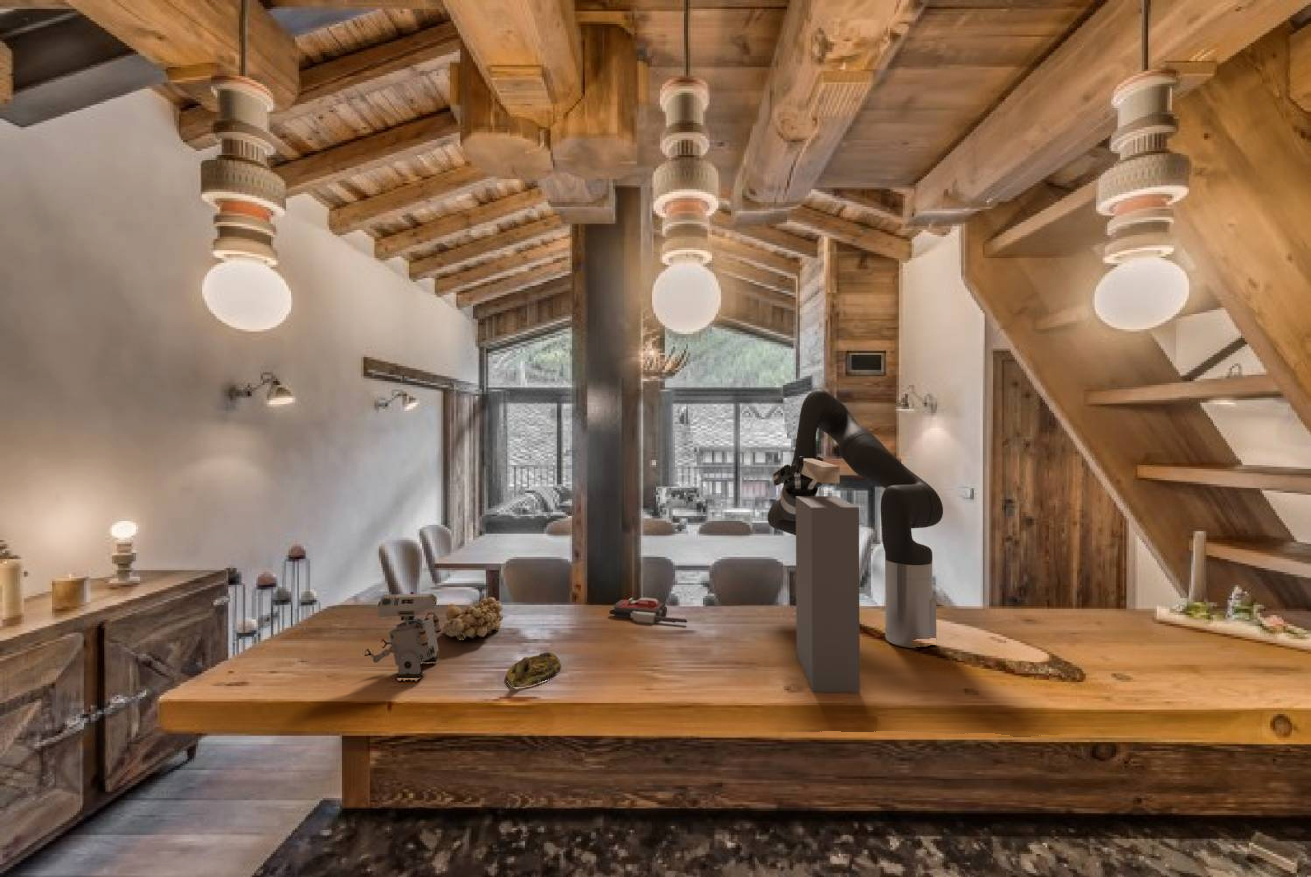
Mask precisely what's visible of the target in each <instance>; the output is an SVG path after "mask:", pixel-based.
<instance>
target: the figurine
mask: <svg viewBox="0 0 1311 877" xmlns="http://www.w3.org/2000/svg"><path fill="white" fill-rule="evenodd" d="M437 600H438V597H437V596H436V595H434V594H433V593H415V592H414V591H410V593H405V594H404V593H403V594H402V593H401V594H400V593H399V594H392V593H391V594H382V596H381V597H380V600H379V601H378V618H384V617H400V621H401V622H399V623H398V624H396V627H394V628H392V630H391V631H389V633H388V634H389V638H390V641H385V639H384V638H382V639H381V641H380V643H382V642H383V643H384V645H383V646H380V647H381V648H382V649H384V650H383V651H382V652H380V653H378V654H374V653H373V652H371V651H370V650H369V648H367V649H366V650H365V651H364V657H369V656H370V657H371V658H372V661H373V663H375V664H376V663H379V662H380V661H381V660H382V659H383V658H385V657H388V656H390V654H391V653H392V654H393V657H394V662H395V665H396V666H398V668H397V674H396V679H397V678H420V677H421V676H422V677H423V673H422V671H421V669H422V668H421V664H420V663H421V662H436V661H437V659H438V660H439V658H438V655H437V653H438V652H439V651H440V650H439V644H438V641H437V640H438V639H437V635H436V634H439V633H441V632H442V629H441V627H440V618H439V616H438V615H437V614H435V613H434V612H429V613H427V615H426V617H424V618H423V617H416V616H418V615H420V614H421V613H423V612H425V611H426V610H434V609H436V606H437ZM431 614H433V616H432V618H431V617H428V616H429V615H431ZM387 645H390V646H389V647H388V649H387V648H386V646H387ZM385 648H386V649H385ZM366 652H368V653H367V654H366ZM437 662H438V661H437ZM437 662H436V663H437Z"/></svg>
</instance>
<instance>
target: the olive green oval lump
mask: <svg viewBox="0 0 1311 877" xmlns="http://www.w3.org/2000/svg"><path fill="white" fill-rule="evenodd" d="M561 669H562V663H561V660H560V659H559V658H558V656H557V655H556V654H554V653H553V652H550V651H545V652H543V653H540V654H539V655H538V654H537V655H533V656H527V657H524V656H523V658H522V659H521V660H518V661H517V662H515V663H514V664H513V665H512V666H511V667H510V668H508V670H507V672H506V675H505V681H506V680H507V681H508V683H509V684H510V685H511V686H512V687H526V686H531V685H534V684H538V683H540V682H542V681H545V680H548V679H550V678H551V677H552V676H554V675H555V674H556V673H558V672H560V671H561ZM559 670H560V671H559ZM558 674H559V673H558ZM555 676H556V675H555ZM555 676H554V677H555Z"/></svg>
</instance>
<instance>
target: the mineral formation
mask: <svg viewBox="0 0 1311 877" xmlns="http://www.w3.org/2000/svg"><path fill="white" fill-rule="evenodd" d="M503 609H504V608H503V605H502V603H501V602H500V600H496V598H495V597H491V596H489V597H488V598H486V597H484V598H481V599H480V601H479V603H478V604H476V603H475V604H473V605H471V604H470V605H468V606H467V607H466V608H464V609H461V608H460V607H459V606H458V605H455V604H454V603H451V604H449V605H448V606H447V609H446V612H445V618H446V620H447V621H445V622H444V626H443V627H442V629H441V632H442V633H445V635H447V636H448V637H451V638H453V637H456V640H457V639H461V640H462V639H465V640H466V639H467V635H468V638H470V639H474V638H475V637H476V636H478V637H481V638H484V637H485V636H486V635H488V634H491V633H492V631H493V630H496V631H495V632H497V630H498V631H499V630H500V629H501V621H503V619H504V614H503V613H500V612H501V611H503ZM487 633H488V634H487Z"/></svg>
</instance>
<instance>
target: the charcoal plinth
mask: <svg viewBox="0 0 1311 877" xmlns="http://www.w3.org/2000/svg"><path fill="white" fill-rule="evenodd" d="M795 575H796V576H795V577H796V578H795V583H796V584H795V587H796V588H795V590H796V591H795V594H796V595H795V598H796V601H795V602H796V603H795V604H796V605H795V606H796V607H795V608H796V609H795V610H796V611H795V612H796V614H795V615H796V657H797V660H798V662H799V664H800V667H801V669H802V671H803V673H804V676H805V677H806V680H807V683H808V682H809V683H808V685H809V687H810V688H811V692H813V693H847V692H860V691H861V689H860V688H861V685H860V684H861V680H860V677H861V676H860V674H861V671H860V670H861V668H860V665H861V664H860V661H861V658H860V654H861V653H860V645H861V644H860V642H861V641H860V640H861V638H860V635H861V634H860V507H859V506H856V505H855V504H854V503H852V502H849V501H847V500H845V499H843V498H841V497H840V496H839V497H838V496H837V495H833V496H832V495H831V496H830V495H826V496H825V495H822V496H821V495H820V496H819V495H818V496H817V495H816V496H796V536H795Z"/></svg>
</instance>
